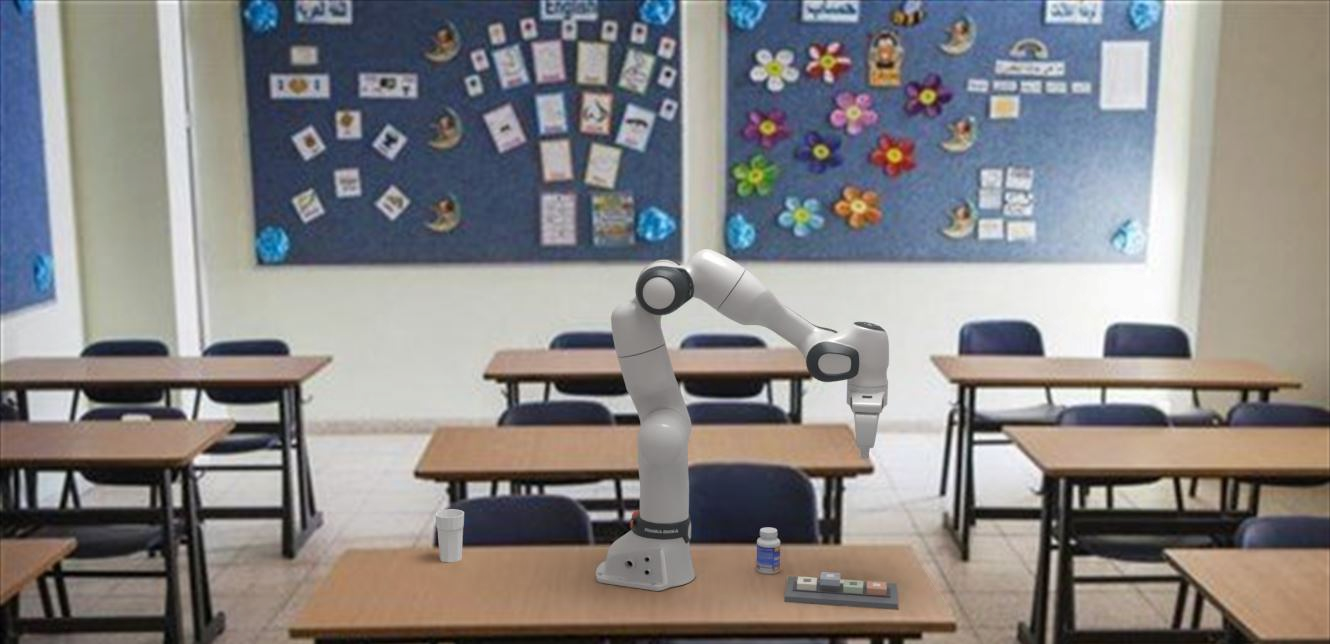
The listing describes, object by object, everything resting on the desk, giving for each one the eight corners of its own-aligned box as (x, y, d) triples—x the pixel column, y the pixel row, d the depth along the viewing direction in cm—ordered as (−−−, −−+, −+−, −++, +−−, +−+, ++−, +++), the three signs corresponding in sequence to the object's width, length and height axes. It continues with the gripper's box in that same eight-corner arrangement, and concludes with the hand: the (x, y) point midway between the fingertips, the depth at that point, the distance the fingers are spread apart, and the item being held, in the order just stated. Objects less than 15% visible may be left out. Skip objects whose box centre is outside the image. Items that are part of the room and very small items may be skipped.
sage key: (843, 592, 270) (843, 586, 270) (843, 585, 274) (843, 579, 274) (862, 593, 269) (863, 587, 269) (862, 586, 273) (863, 580, 273)
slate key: (820, 584, 270) (820, 578, 270) (820, 577, 275) (821, 571, 274) (839, 586, 270) (839, 579, 270) (840, 579, 274) (840, 572, 274)
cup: (462, 563, 289) (461, 518, 288) (434, 563, 289) (432, 517, 288) (467, 553, 296) (466, 509, 294) (439, 553, 296) (438, 509, 294)
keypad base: (784, 601, 268) (784, 594, 268) (788, 581, 280) (788, 574, 280) (897, 609, 264) (897, 602, 264) (896, 588, 276) (896, 582, 276)
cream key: (796, 589, 272) (797, 582, 271) (798, 582, 276) (798, 576, 275) (816, 590, 271) (816, 584, 271) (817, 583, 275) (817, 577, 275)
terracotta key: (866, 594, 269) (866, 587, 269) (866, 587, 273) (866, 580, 273) (886, 595, 268) (886, 588, 268) (886, 588, 273) (886, 581, 272)
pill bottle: (778, 575, 283) (779, 534, 282) (754, 573, 285) (755, 532, 283) (781, 567, 289) (782, 527, 287) (757, 565, 290) (758, 525, 288)
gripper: (853, 385, 283) (851, 444, 285) (851, 405, 263) (849, 469, 265) (881, 386, 282) (879, 446, 284) (882, 407, 262) (879, 470, 264)
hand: (864, 457), depth 275 cm, fingers closed
